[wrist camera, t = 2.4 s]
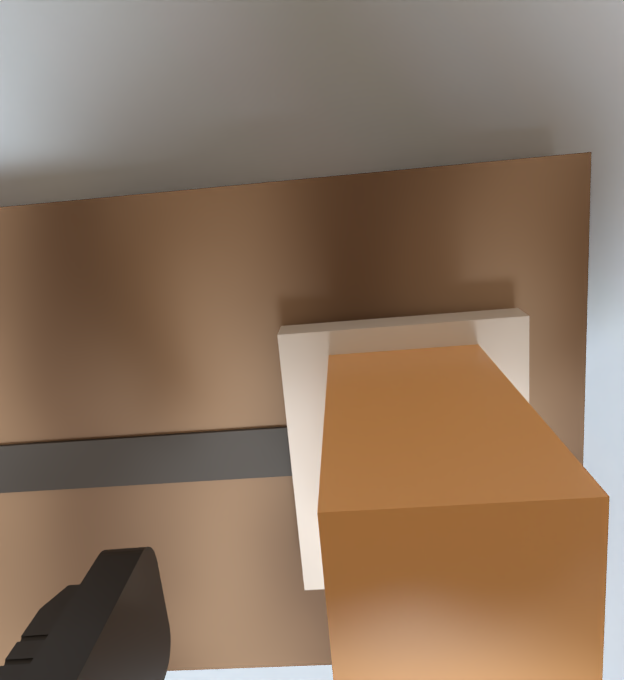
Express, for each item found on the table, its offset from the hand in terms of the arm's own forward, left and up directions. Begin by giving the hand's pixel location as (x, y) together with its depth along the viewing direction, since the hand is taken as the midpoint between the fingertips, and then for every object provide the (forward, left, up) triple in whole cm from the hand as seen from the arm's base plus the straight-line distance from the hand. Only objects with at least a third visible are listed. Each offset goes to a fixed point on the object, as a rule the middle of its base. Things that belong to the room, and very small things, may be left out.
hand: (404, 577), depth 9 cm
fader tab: (0, 0, -4) cm, 4 cm away
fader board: (+7, 0, -6) cm, 9 cm away
